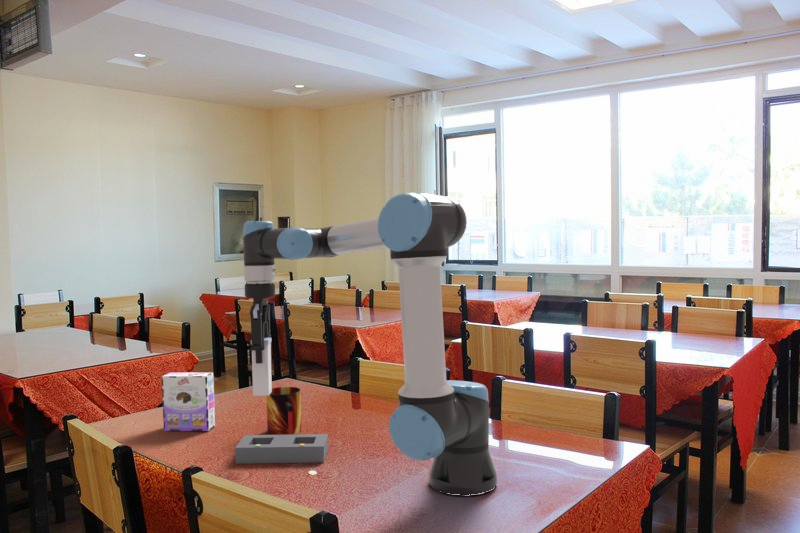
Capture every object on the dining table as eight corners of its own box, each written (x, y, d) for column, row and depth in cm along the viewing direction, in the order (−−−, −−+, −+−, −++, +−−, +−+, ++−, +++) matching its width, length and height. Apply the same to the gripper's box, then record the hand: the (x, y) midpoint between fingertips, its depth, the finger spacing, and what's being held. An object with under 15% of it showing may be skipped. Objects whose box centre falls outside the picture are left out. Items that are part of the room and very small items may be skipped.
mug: (290, 442, 174) (289, 398, 174) (260, 432, 184) (259, 391, 183) (317, 433, 182) (316, 392, 181) (287, 424, 191) (286, 385, 190)
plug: (269, 395, 160) (268, 340, 160) (252, 395, 160) (250, 340, 160) (272, 391, 165) (271, 337, 164) (255, 391, 165) (254, 337, 164)
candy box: (216, 426, 190) (214, 371, 190) (208, 432, 184) (206, 375, 184) (171, 425, 192) (170, 371, 191) (162, 431, 186) (160, 375, 185)
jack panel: (324, 462, 158) (323, 445, 158) (235, 463, 158) (235, 446, 158) (328, 448, 168) (327, 432, 168) (244, 450, 168) (244, 434, 168)
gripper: (268, 284, 153) (270, 381, 154) (280, 279, 170) (282, 366, 171) (236, 284, 153) (239, 381, 154) (252, 280, 170) (254, 367, 171)
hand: (262, 373), depth 162 cm, fingers closed on plug, 4 cm apart
